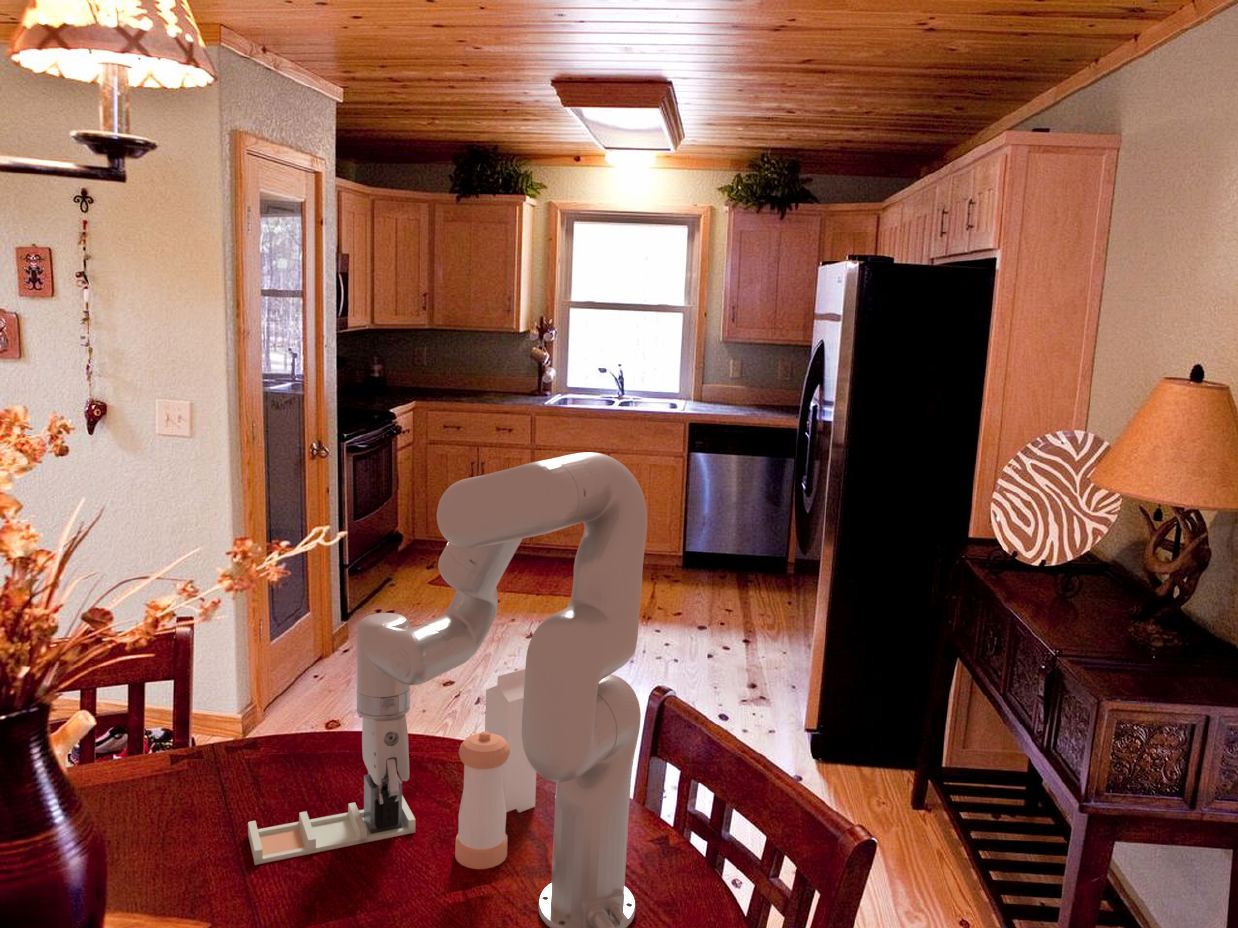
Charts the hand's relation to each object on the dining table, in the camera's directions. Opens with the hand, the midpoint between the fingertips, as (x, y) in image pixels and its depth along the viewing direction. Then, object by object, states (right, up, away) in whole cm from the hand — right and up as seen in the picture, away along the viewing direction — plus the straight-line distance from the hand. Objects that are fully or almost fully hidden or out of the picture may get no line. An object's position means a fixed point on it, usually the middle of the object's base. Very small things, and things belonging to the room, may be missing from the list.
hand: (382, 816), depth 141 cm
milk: (+17, -2, +10) cm, 20 cm away
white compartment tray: (-7, -2, -3) cm, 7 cm away
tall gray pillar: (0, -1, 0) cm, 1 cm away
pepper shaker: (+15, -4, -6) cm, 17 cm away
